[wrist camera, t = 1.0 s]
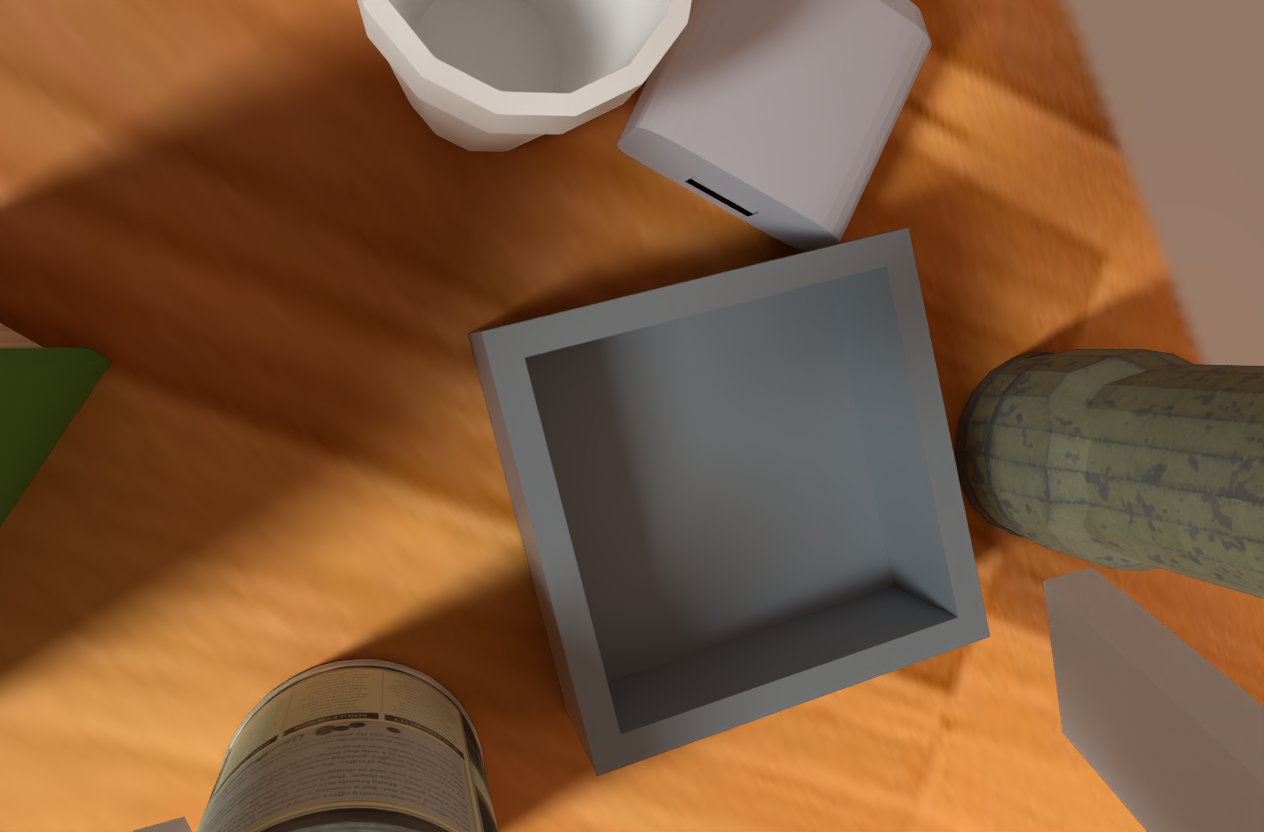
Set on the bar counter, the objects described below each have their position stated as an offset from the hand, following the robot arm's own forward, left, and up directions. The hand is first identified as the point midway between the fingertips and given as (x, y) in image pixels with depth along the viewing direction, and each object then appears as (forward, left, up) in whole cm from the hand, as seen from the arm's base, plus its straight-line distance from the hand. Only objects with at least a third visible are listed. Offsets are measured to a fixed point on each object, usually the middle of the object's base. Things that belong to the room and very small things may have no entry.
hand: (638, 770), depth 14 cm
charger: (-15, +17, -26) cm, 35 cm away
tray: (+2, +9, -26) cm, 27 cm away
